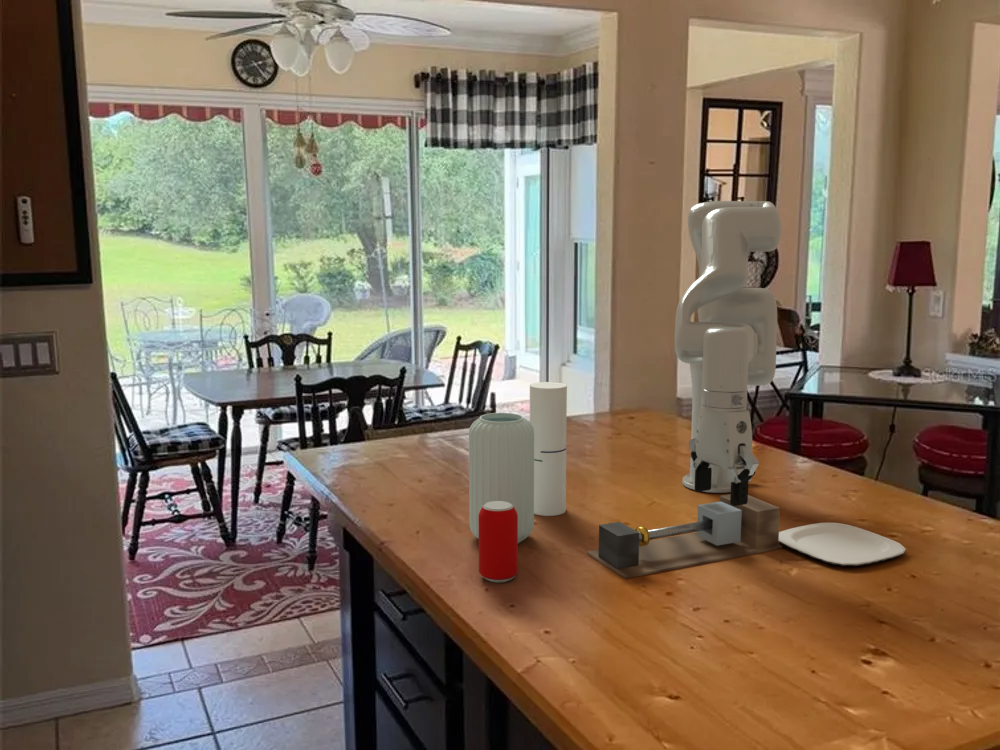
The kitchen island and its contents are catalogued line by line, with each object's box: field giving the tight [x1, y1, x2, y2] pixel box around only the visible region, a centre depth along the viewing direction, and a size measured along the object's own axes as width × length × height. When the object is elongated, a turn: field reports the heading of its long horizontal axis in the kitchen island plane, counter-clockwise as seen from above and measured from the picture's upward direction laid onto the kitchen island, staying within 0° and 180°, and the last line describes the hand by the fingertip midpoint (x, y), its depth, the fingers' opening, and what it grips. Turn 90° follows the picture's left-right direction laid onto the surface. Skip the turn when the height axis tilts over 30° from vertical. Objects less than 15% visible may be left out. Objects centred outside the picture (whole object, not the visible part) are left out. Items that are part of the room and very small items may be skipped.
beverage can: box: [478, 501, 519, 584], centre depth 141 cm, size 6×6×12 cm
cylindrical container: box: [529, 381, 568, 517], centre depth 174 cm, size 7×7×25 cm
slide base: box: [586, 493, 783, 579], centre depth 153 cm, size 32×12×7 cm, turn 115°
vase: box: [468, 412, 535, 544], centre depth 158 cm, size 12×12×22 cm
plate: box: [778, 522, 907, 567], centre depth 155 cm, size 18×18×2 cm
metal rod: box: [634, 520, 713, 547], centre depth 152 cm, size 26×3×3 cm, turn 115°
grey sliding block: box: [696, 500, 742, 546], centre depth 156 cm, size 5×6×6 cm
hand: (720, 497), depth 154 cm, fingers open, 9 cm apart
